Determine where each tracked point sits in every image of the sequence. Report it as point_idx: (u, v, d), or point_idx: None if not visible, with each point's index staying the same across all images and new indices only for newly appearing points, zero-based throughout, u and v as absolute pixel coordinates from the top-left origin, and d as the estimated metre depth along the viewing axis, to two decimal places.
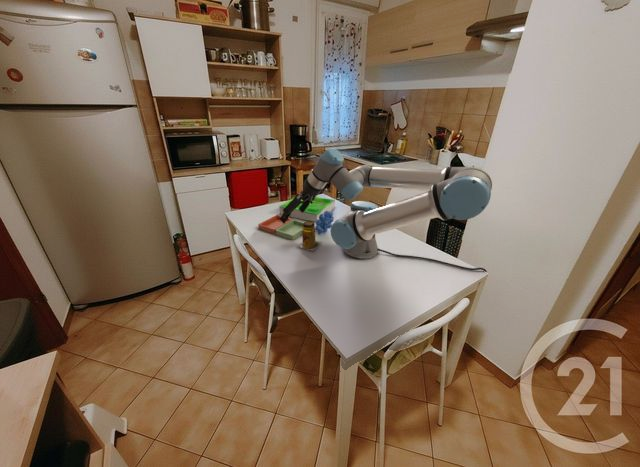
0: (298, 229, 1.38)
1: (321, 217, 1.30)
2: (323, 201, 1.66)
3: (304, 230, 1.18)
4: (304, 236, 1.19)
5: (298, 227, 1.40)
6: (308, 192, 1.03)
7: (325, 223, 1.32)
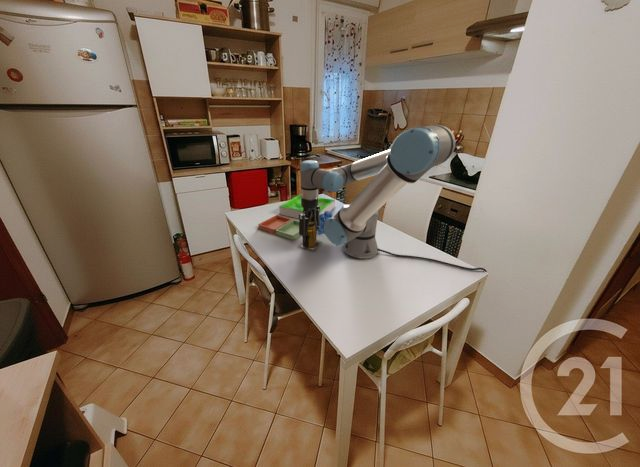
0: (298, 229, 1.38)
1: (321, 217, 1.30)
2: (323, 201, 1.66)
3: None
4: None
5: (298, 227, 1.40)
6: (307, 206, 1.12)
7: None
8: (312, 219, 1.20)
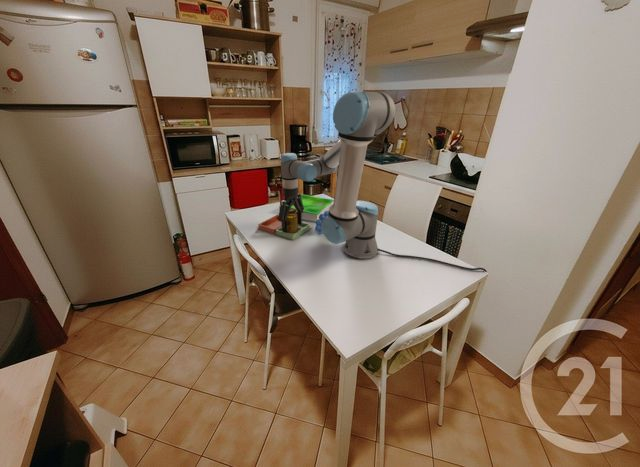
0: None
1: (321, 217, 1.30)
2: (323, 201, 1.66)
3: (287, 216, 1.30)
4: (287, 222, 1.31)
5: None
6: (287, 195, 1.23)
7: None
8: (295, 205, 1.33)
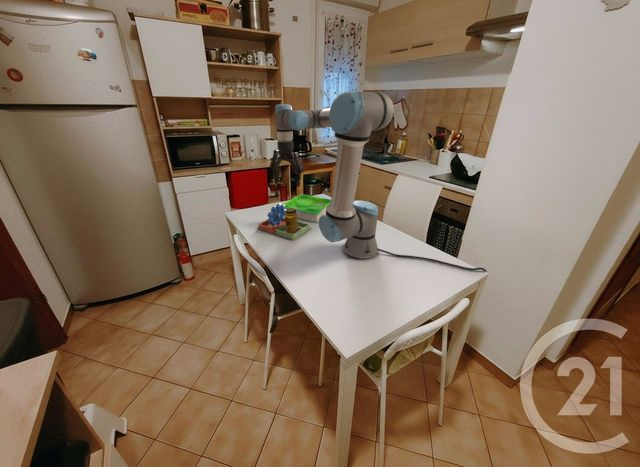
0: None
1: (272, 209, 1.36)
2: (323, 201, 1.66)
3: (287, 216, 1.30)
4: (287, 222, 1.31)
5: None
6: None
7: (277, 215, 1.38)
8: None
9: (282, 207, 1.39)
